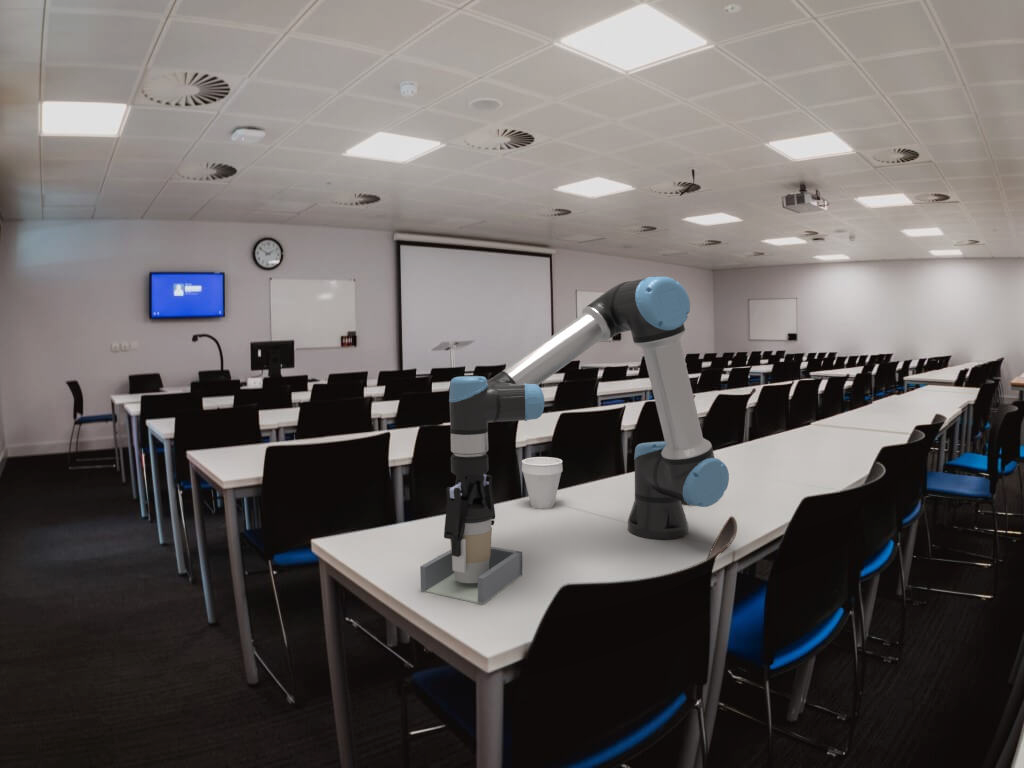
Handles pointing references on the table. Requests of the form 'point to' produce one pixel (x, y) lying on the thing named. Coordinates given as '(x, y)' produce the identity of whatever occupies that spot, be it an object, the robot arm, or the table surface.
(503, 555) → the u rest
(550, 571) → the table surface
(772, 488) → the table surface
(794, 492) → the table surface
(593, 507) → the table surface
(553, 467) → the cup
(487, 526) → the coffee cup
